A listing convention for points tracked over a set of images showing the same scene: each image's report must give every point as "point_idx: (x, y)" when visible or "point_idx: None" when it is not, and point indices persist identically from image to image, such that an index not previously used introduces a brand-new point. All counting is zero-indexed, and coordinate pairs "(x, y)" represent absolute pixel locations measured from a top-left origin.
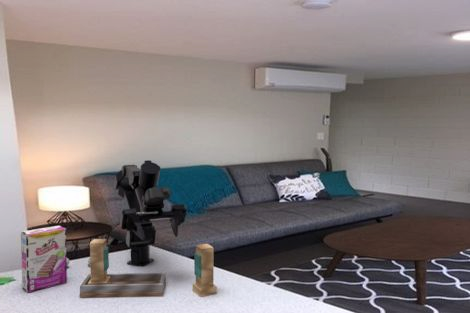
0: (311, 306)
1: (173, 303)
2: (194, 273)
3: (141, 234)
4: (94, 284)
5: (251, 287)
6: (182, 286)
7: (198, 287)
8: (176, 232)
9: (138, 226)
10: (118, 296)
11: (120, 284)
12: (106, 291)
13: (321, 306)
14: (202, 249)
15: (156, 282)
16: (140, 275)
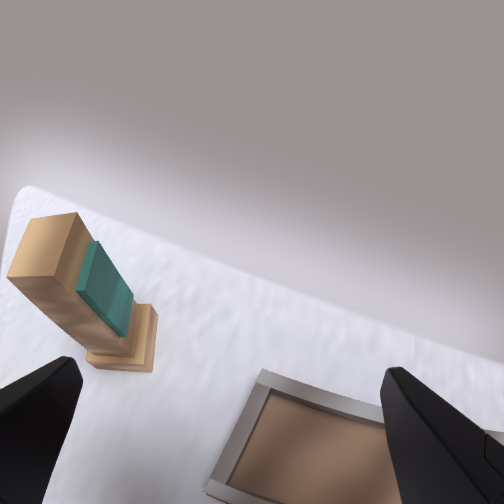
0: (32, 193)
1: (250, 308)
2: (125, 335)
3: (430, 394)
4: None
5: (23, 305)
6: (166, 424)
7: (143, 324)
8: (58, 365)
9: (493, 454)
10: None
11: None
12: None
13: (24, 190)
14: (74, 214)
15: (257, 476)
16: None
